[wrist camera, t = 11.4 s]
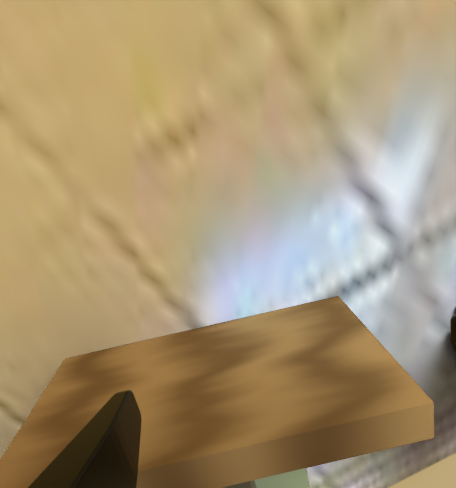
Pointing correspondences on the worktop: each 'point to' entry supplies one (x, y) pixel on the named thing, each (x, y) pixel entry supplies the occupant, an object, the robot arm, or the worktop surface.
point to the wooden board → (235, 400)
